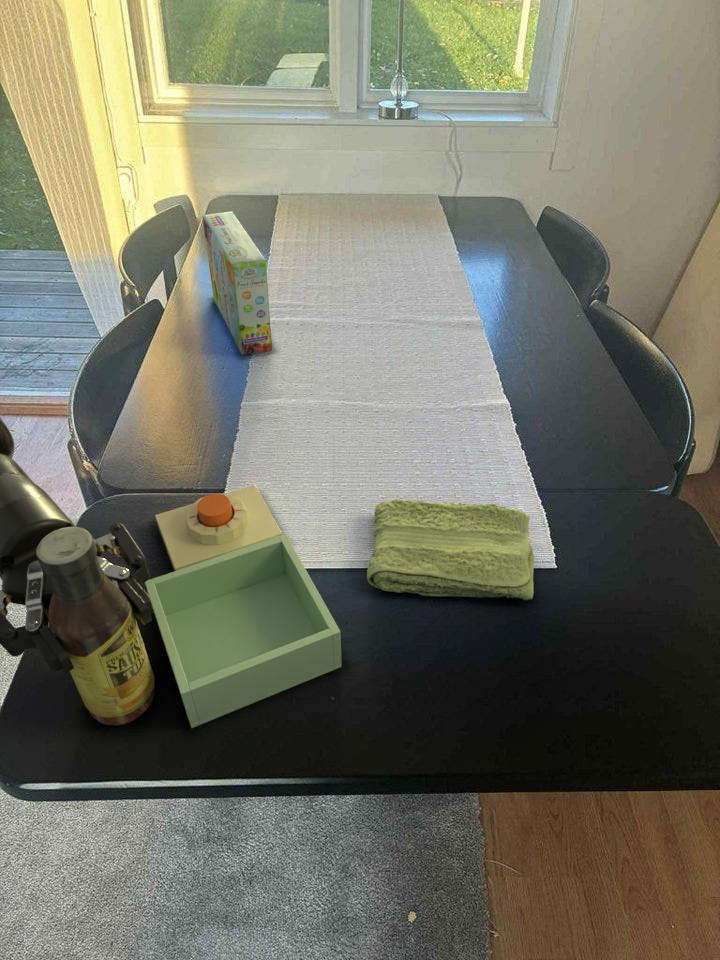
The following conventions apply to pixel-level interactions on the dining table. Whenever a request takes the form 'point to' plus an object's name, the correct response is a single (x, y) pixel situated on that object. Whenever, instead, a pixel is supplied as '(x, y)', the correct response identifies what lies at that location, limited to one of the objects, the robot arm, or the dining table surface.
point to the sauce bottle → (96, 629)
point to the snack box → (238, 282)
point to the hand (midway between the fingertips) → (108, 639)
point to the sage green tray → (243, 628)
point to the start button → (214, 510)
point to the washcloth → (451, 550)
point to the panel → (216, 529)
